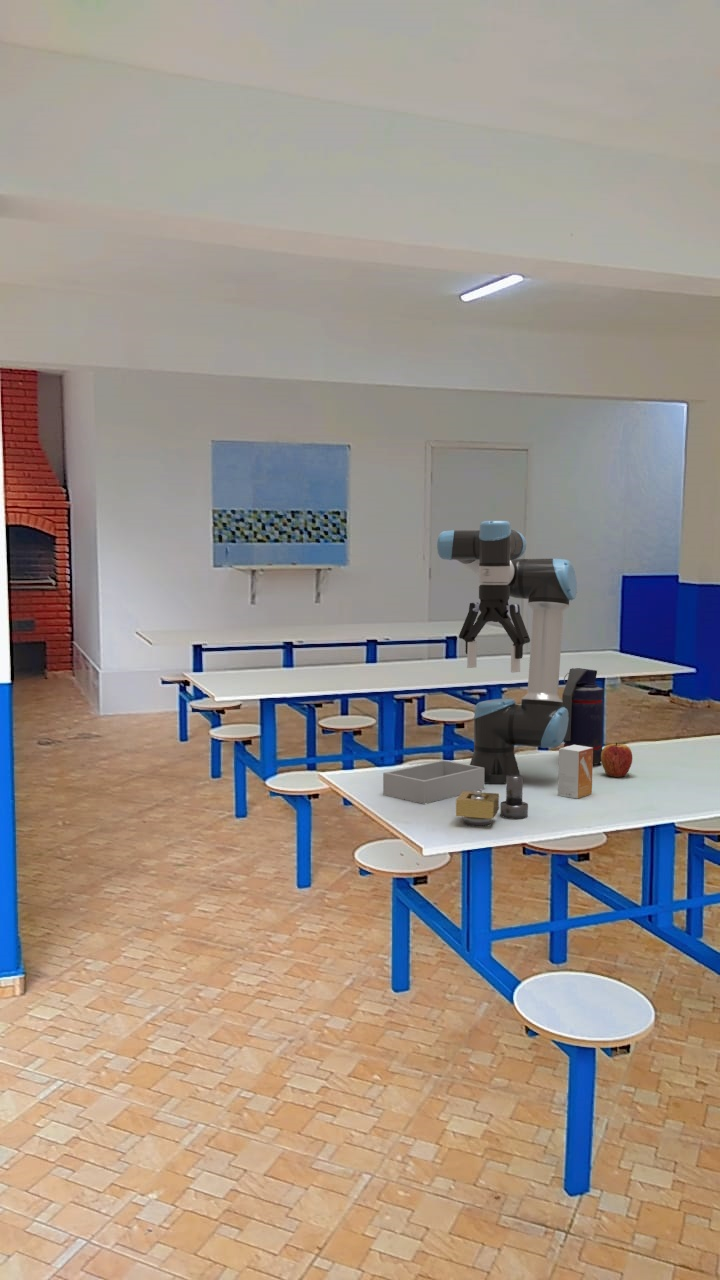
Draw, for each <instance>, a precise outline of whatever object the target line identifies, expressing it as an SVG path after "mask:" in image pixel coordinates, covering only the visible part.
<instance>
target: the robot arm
mask: <svg viewBox="0 0 720 1280" xmlns="http://www.w3.org/2000/svg"><path fill="white" fill-rule="evenodd" d="M436 549H437V554H438V556H439V557H440V559H442V560H449V561H452V560H456V561H458V562H459V563H461V564H462V565H464V566H465V567H466V568H468V569H469V570H471V571H472V572H473V573H474V574H477V575H478V576H479V578H478V582H479V583H481V584H479V586H478V599H479V600H480V601H479V602H470V603H469V606H468V613H467V615H466V617H465V620H464V622H463V624H462V627H461V629H460V631H459V633H458V638H459V639H462V640H464V642H465V654H466V657H467V658H466V659H467V667H466V668H467V669H472V668H473V669H474V668H477V658H478V657H477V655H478V654H477V653H478V652H477V649H478V648H477V647H478V646H477V645H478V642H477V641H476V638H477V636H478V635H479V634H480V632H481V631H482V629H483V628H484V627H485V625H486V624H487V623H488V622H490V623H491V622H493V623H499V624H500V625H501V626H502V627H503V629H504V631H505V632H506V633H507V636H508V637H509V639H510V640H511V642H512V645H511V646H510V673H512V674H513V673H518V672H519V673H520V672H521V659H523V657H524V655H523V654H524V653H523V651H524V649H523V647H524V645H526V644H529V643H530V650H529V653H530V654H529V667H528V681H527V693H526V694H525V695H524V696H523V697H521V703H520V704H516V700H515V699H514V698H495V699H488V700H487V699H486V700H483V701H479V702H477V703H476V704H475V706H474V717H473V745H474V746H473V754H472V757H471V760H470V761H469V762H470V763H469V765H472V766H478V767H483V768H484V784H498V785H499V784H506V776H507V775H521V771H520V769H519V765H518V761H517V759H516V754H515V746H524V747H534V748H537V747H538V748H542V749H547V748H551V749H553V748H554V749H555V748H559V747H560V745H562V744H563V743H564V738H565V735H566V731H567V727H568V720H569V717H568V710H567V709H566V708H565V707H563V701H562V698H561V697H560V696H559V684H560V682H559V681H560V667H561V651H562V636H563V635H562V633H563V621H564V612H565V611H566V610H567V609H568V608H569V607H570V601H573V600H575V599H576V597H577V593H578V592H577V591H578V585H577V583H578V582H577V576H576V571H575V568H574V566H573V564H572V562H571V561H569V559H566V558H565V559H563V558H555V557H553V558H521V557H522V556H524V553H525V552H526V550H527V540H526V538H525V536H524V535H523V534H522V533H521V532H519V531H517V530H516V529H511V522H510V521H508V520H483V521H482V522H481V523H480V524H479V530H471V529H470V530H466V529H465V530H460V529H459V530H455V529H452V530H444V531H441V532H440V534H439V535H438V536H437V544H436ZM510 597H511V598H514V599H521V600H528V603H527V605H528V606H529V607H530V608H531V609H532V622H531V636H529V632H528V631H527V628H526V625H525V623H524V620H523V617H522V615H521V609H520V605H519V603H516V604H509V599H510ZM479 612H480V613H479ZM508 613H509V614H508ZM478 614H479V615H478ZM509 615H510V616H509ZM530 637H531V638H530Z"/></svg>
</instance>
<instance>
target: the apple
mask: <svg viewBox="0 0 720 1280" xmlns="http://www.w3.org/2000/svg"><path fill="white" fill-rule="evenodd" d="M632 763H633V754H632V750H631V748H630V746H628V745H627V744H624V743H623V744H618V742H615V743H611V744H610V743H609V744H607V745H605V746H604V747H602V752H601V765H602V768H603V769H604V770H603V771H604V772H605V774H607V775H608V776H611V777H614V778H615V777H616V778H622V777H625V776H626V775H628V773H629V772H630V768H631V766H632Z"/></svg>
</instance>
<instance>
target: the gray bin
mask: <svg viewBox="0 0 720 1280" xmlns="http://www.w3.org/2000/svg"><path fill="white" fill-rule="evenodd" d="M382 781H383V782H382V784H383V785H382V789H383V790H382V792H383V793H382V794H383V795H384V796H389V797H393V798H397V799H400V800H404V799H405V801H409V800H410V802H413V801H414V803H417V802H420V803H419V804H421V803H423V804H422V805H426V804H425V803H427V804H431V803H434V801H435V802H439V801H442V800H446V799H449V798H453V797H459V795H460V794H461V793H462V791H466V792H474V790H481V791H482V790H485V783H484V768H483V767H478V766H472V765H470V764H466V763H461V762H456V761H451V760H445V759H442V760H438V761H432V762H428V763H423V764H419V765H418V764H417V765H414V766H409V767H405V768H398V769H395V770H390V771H385V772H383V779H382ZM438 800H439V801H438ZM430 802H431V803H430Z"/></svg>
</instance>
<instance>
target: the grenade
mask: <svg viewBox="0 0 720 1280" xmlns="http://www.w3.org/2000/svg"><path fill="white" fill-rule="evenodd" d="M597 675H598V670H595V669H587V668H580V667H579V668H578V667H576V668H573V667H572V668H570V669H569V672H567V673H565V675H564V677H563V682H564V684H565V686H564V690H563V692H562V698H561V700H562V701H563V707H565V708H566V709H567V710H568V717H569V720H568V727H567V731H566V735H565V738H564V740H563V743H564V744H563V748H564V747H567V746H571V745H579V746H586V747H593V765H598V766H601V765H602V762H601V752H602V750H603V744H604V742H603V740H604V736H603V734H604V701H603V699H604V695H605V693H604V691H605V690H604V688H603V687H600V686H599V685H598V684H596V679H597ZM566 678H567V681H566Z"/></svg>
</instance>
